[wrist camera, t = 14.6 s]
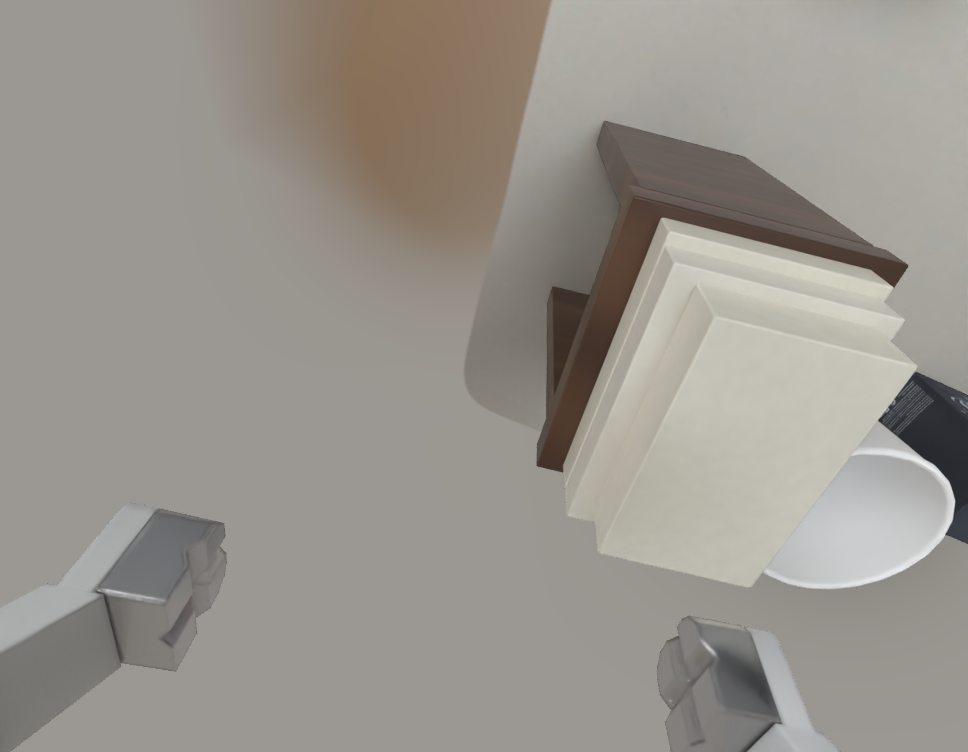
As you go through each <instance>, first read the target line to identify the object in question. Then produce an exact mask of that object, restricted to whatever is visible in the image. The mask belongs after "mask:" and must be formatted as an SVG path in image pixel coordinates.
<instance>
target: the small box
mask: <svg viewBox="0 0 968 752" xmlns="http://www.w3.org/2000/svg"><path fill="white" fill-rule="evenodd" d="M878 421H879V422H880V423H881V424H882V425H884V426H885V427H886V428H887V429H889V430H890V431H891V432H892V433H893V434H895V435H896V436H897V437H898V438H899V439H901V440H902V441H903V442H904V443H905V444H907V445H908V446H909V447H910V448H911V449H913V450H914V451H915V452H916V453H918V454H919V455H920V456H921V457H922V458H924V459H925V460H927V461H928V462H930V463H932V464H934V465H935V466H936V467H937V468H938V469H939V470H940V472H941V473H942V474H943V475H944V476H945V477H946V478H947V479H948V481H949V482H950V485H951V488H952V491H953V495H954V498H955V508H954V515H953V521H952V523H951V525H950V527H949V529H948V530H947V532H946V535H948V536H951V537H953V538H955V539H958V540H960V541H962V542H965V543H967V544H968V395H966V394H964V393H962V392H960V391H957V390H955V389H953V388H951V387H948V386H946V385H944V384H942V383H940V382H937V381H935V380H933V379H931V378H928V377H926V376H924V375H922V374H920V373H917V372H916V373H914V374H913V375H912V376H911V378H910V379H909V380H908V382H907V383H906V384H905V385H904V387H903V388H902V389H901V391H900V392H899V393H898V395H897V396H896V397H895V399H894V400H893V401H892V403H891V404H890V405H889V407H888V408H887V409H886V411H885V412H884V413H883V414H882V416H881V417H880V418H879V420H878Z"/></svg>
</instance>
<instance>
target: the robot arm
mask: <svg viewBox="0 0 968 752" xmlns="http://www.w3.org/2000/svg"><path fill="white" fill-rule="evenodd" d="M224 538H225V528H224V523H221V522H217V521H213V520H208V519H204V518H199V517H195V516H191V515H186V514H182V513H177V512H173V511H168V510H164V509H160V508H155V507H150V506H146V505H141V504H136V503H130V504H128V505H126V506H125V507H123V508H122V509H120V510H119V512H118V513H117V514H116V515H115V517H114V518H113V519H112V520H111V521H110V522H109V523H108V525H107V526H106V527H105V528H104V529H103V531H102V532H101V533H100V534H99V535H98V537H97V538H96V539H95V540H94V541H93V543H92V544H91V545H90V546H89V547H88V549H87V550H86V551H85V552H84V553H83V555H82V556H81V557H80V558H79V559H78V561H77V562H76V563H75V564H74V566H73V567H72V568H71V569H70V570H69V571H68V573H67V574H66V575H65V576H64V577H63V579H62V580H61V581H60V582H59V583H58V585H54V584H48V583H47V584H45V585H43V586H42V587H39V588H38V589H36V590H34V591H32V592H30V593H28V594H26V595H24V596H22V597H20V598H18V599H16V600H14V601H12V602H10V603H8V604H7V605H5V606H3V607H1V608H0V752H10V751H12V750H13V749H14V748H15V747H17V746H18V745H20V744H21V743H22V742H23V741H25V740H26V739H27V738H29V737H30V736H31V735H32V734H34V733H35V732H37V731H38V730H39V729H40V728H41V727H43V726H44V725H46V724H47V723H48V722H50V721H51V720H52V719H53V718H55V717H56V716H57V715H59V714H60V713H61V712H63V711H64V710H65V709H66V708H68V707H69V706H70V705H72V704H73V703H74V702H76V701H77V700H78V699H79V698H81V697H82V696H83V695H85V694H86V693H87V692H89V691H90V690H91V689H93V688H94V687H95V686H96V685H98V684H99V683H100V682H102V681H103V680H104V679H106V678H107V677H108V676H109V675H111V674H112V673H114V672H115V671H116V670H117V669H118V668H120V667H121V663H125V664H130V665H137V666H143V667H150V668H156V669H163V670H169V671H175V672H176V671H177V669H178V667H179V665H180V663H181V662H182V660H183V658H184V656H185V654H186V652H187V651H188V649H189V647H190V645H191V643H192V641H193V640H194V637H195V636H196V634H197V627H196V617H198V616H199V615H201V614H202V613H204V612H205V611H207V610H208V609H210V608H211V606H212V604H213V602H214V600H215V598H216V597H217V595H218V593H219V590H220V587H221V584H222V581H223V578H224V576H225V570H226V564H227V561H226V560H227V559H226V552H225V551H224V550H223V549H222V548H221V547H220V545H221V543H222V541H223V539H224ZM677 630H678V634H679V636H677V637H675V638H673V639H670V640H668V641H667V642H666V643H665V645H664V647H663V648H662V650H661V651H660V656H659V661H658V666H657V677H658V679H657V680H658V686H659V692H660V696H661V697H662V698H663V700H664V701H665V703H666V704H667V705H668V707H669V708H670V709H671V711H670V714H669V716H668V717H667V719H666V721H665V724H666V729H667V735H668V739H669V745H670V750H671V752H840V751H839V750H838V749H837V747H835V745H834V744H833V743H832V742H831V741H830V740H829V738H828V737H827V736H826V735H825V734H824V733H821V732H818V731H815V730H814V728H813V725H812V722H811V720H810V717H809V715H808V712H807V710H806V707H805V705H804V702H803V700H802V697H801V695H800V692H799V690H798V687H797V685H796V682H795V680H794V677H793V675H792V672H791V670H790V667H789V665H788V662H787V660H786V657H785V655H784V652H783V650H782V647H781V645H780V642H779V640H778V639H777V637H776V636H775V635H774V634H773V633H772V632H768V631H763V630H758V629H753V628H748V627H742V626H741V625H736V624H731V623H726V622H720V621H715V620H709V619H704V618H699V617H693V616H687V617H685V618H683V619H682V620H681V622H680V623H679V624H678V626H677Z"/></svg>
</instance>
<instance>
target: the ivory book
mask: <svg viewBox="0 0 968 752" xmlns="http://www.w3.org/2000/svg"><path fill="white" fill-rule="evenodd" d="M917 368H918V367H917V365H916V364H915V363H914V362H913V361H912V360H910V359H909V358H908V357H907V356H906V355H905V354H904V353H903V352H902V351H901V350H900V349H899V348H898V347H897V346H895V345H894V344H893V343H892V342H891V341H890V340H889V339H888V338H887V337H886V336H885V335H884V334H883V333H882V332H881V331H879V330H878V329H877V328H873V327H869V326H865V325H861V324H857V323H853V322H849V321H845V320H841V319H837V318H833V317H829V316H825V315H821V314H817V313H813V312H809V311H805V310H801V309H797V308H793V307H789V306H785V305H781V304H777V303H773V302H769V301H765V300H761V299H757V298H753V297H749V296H745V295H741V294H737V293H733V292H729V291H725V290H721V289H717V288H713V287H709V286H705V285H701V284H697V285H696V287H695V289H694V291H693V293H692V295H691V297H690V300H689V302H688V304H687V306H686V308H685V310H684V313H683V315H682V317H681V319H680V321H679V323H678V326H677V328H676V330H675V332H674V334H673V337H672V339H671V341H670V343H669V345H668V347H667V350H666V352H665V354H664V356H663V358H662V360H661V363H660V365H659V367H658V369H657V371H656V373H655V376H654V378H653V380H652V382H651V384H650V386H649V389H648V391H647V393H646V395H645V397H644V400H643V402H642V404H641V406H640V408H639V410H638V413H637V415H636V417H635V419H634V421H633V423H632V426H631V428H630V430H629V432H628V434H627V436H626V439H625V441H624V443H623V445H622V447H621V449H620V452H619V454H618V456H617V458H616V460H615V462H614V465H613V467H612V469H611V471H610V473H609V476H608V478H607V480H606V482H605V484H604V486H603V489H602V491H601V493H600V495H599V497H598V499H597V502H596V504H595V506H594V516H595V527H596V537H597V549H598V553H599V554H603V555H608V556H612V557H616V558H621V559H625V560H630V561H634V562H638V563H642V564H647V565H651V566H655V567H660V568H664V569H668V570H673V571H677V572H681V573H686V574H690V575H694V576H699V577H703V578H707V579H712V580H716V581H720V582H724V583H729V584H733V585H737V586H742V587H746V588H751V587H752V586H753V585H754V583H755V582H756V580H757V579H758V578H759V577H760V575H761V574H762V573H763V571H764V570H765V569H766V567H767V566H768V565H769V563H770V562H771V561H772V559H773V558H774V557H775V556H776V554H777V553H778V552H779V550H780V549H781V548H782V546H783V545H784V544H785V542H786V541H787V540H788V538H789V537H790V536H791V534H792V533H793V532H794V530H795V529H796V528H797V527H798V525H799V524H800V523H801V521H802V520H803V519H804V517H805V516H806V515H807V513H808V512H809V511H810V509H811V508H812V507H813V505H814V504H815V503H816V501H817V500H818V499H819V498H820V496H821V495H822V494H823V492H824V491H825V490H826V488H827V487H828V486H829V484H830V483H831V482H832V480H833V479H834V478H835V476H836V475H837V474H838V472H839V471H840V470H841V469H842V467H843V466H844V465H845V463H846V462H847V461H848V459H849V458H850V457H851V455H852V454H853V453H854V451H855V450H856V449H857V447H858V446H859V445H860V443H861V442H862V441H863V440H864V438H865V437H866V436H867V434H868V433H869V432H870V430H871V429H872V428H873V426H874V425H875V424H876V422H877V421H878V420H879V418H880V417H881V416H882V414H883V413H884V412H885V411H886V409H887V408H888V407H889V405H890V404H891V403H892V401H893V400H894V399H895V397H896V396H897V395H898V393H899V392H900V391H901V389H902V388H903V387H904V385H905V384H906V383H907V382H908V380H909V379H910V378H911V376H912V375H913V374H914V372H915V371H916V370H917Z"/></svg>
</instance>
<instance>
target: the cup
mask: <svg viewBox="0 0 968 752" xmlns="http://www.w3.org/2000/svg"><path fill="white" fill-rule="evenodd" d="M954 508H955V498H954V495H953V491H952V488H951V485H950V482H949V481H948V479H947V478H946V477H945V476H944V475H943V474H942V473H941V472H940V470H939V469H938V468H937V467H936V466H935V465H934V464H932V463H930V462H928V461H927V460H925V459H924V458H922V457H921V456H920V455H919V454H918V453H916V452H915V451H914V450H913V449H911V448H910V447H909V446H908V445H907V444H905V443H904V442H903V441H902V440H901V439H899V438H898V437H897V436H896V435H895V434H893V433H892V432H891V431H890V430H889V429H887V428H886V427H885V426H884V425H882V424H881V423H880V422H879V421H877V422H876V424H875V425H874V426H873V428H872V429H871V430H870V432H869V433H868V434H867V436H866V437H865V438H864V440H863V441H862V442H861V443H860V445H859V446H858V447H857V449H856V450H855V451H854V453H853V454H852V455H851V457H850V458H849V459H848V461H847V462H846V463H845V465H844V466H843V467H842V469H841V470H840V471H839V472H838V474H837V475H836V476H835V478H834V479H833V480H832V482H831V483H830V484H829V486H828V487H827V488H826V490H825V491H824V492H823V494H822V495H821V496H820V498H819V499H818V500H817V501H816V503H815V504H814V505H813V507H812V508H811V509H810V511H809V512H808V513H807V515H806V516H805V517H804V519H803V520H802V521H801V523H800V524H799V525H798V527H797V528H796V529H795V530H794V532H793V533H792V534H791V536H790V537H789V538H788V540H787V541H786V542H785V544H784V545H783V546H782V548H781V549H780V550H779V552H778V553H777V554H776V556H775V557H774V558H773V559H772V561H771V562H770V563H769V565H768V566H767V567H766V569H765V570H764V571H763V573H764V574H766V575H768V576H770V577H772V578H775V579H777V580H779V581H781V582H783V583H786V584H790V585H795V586H799V587H803V588H813V589H838V588H848V587H857V586H861V585H865V584H868V583H872V582H875V581H880V580H883V579H885V578H888V577H890V576H892V575H894V574H897V573H899V572H901V571H904V570H905V569H907V568H909V567H910V566H911V565H913V564H915V563H916V562H918V561H919V560H921V559H922V558H924V557H925V556H927V555H928V554H929V553H930V552H931V551H932V550H933V549H934V547H936V546H937V545H938V543H939V542H940V541H941V540H942V539H943V538H944V536H945V534H946V532H947V530H948V529H949V527H950V525H951V523H952V521H953V515H954Z"/></svg>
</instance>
